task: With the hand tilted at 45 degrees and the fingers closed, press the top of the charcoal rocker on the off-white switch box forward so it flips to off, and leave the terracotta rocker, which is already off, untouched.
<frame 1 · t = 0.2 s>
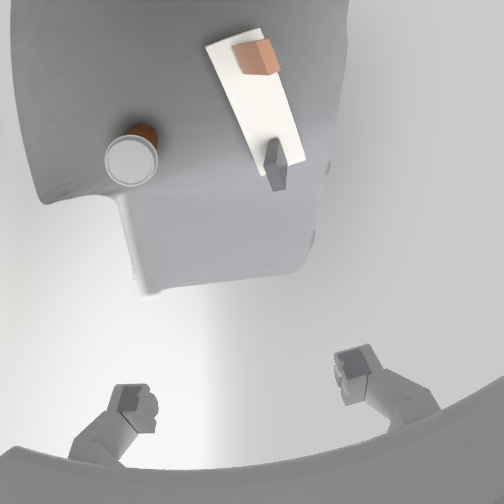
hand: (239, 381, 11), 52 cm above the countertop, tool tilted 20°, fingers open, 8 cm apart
switch box: (253, 96, 51), on the countertop
disposable coffee cup: (141, 138, 53), on the countertop
rocker charcoal: (276, 162, 48), point 13 cm above the countertop, hinge at -18.0°
rocker terracotta: (253, 57, 35), point 13 cm above the countertop, hinge at 18.0°
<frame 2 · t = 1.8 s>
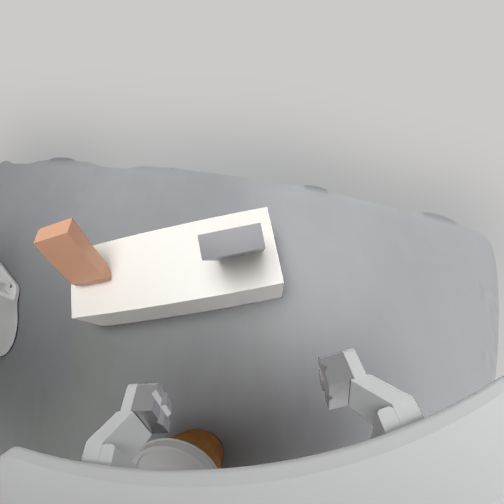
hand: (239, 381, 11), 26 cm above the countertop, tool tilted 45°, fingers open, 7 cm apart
switch box: (181, 282, 40), on the countertop
disposable coffee cup: (200, 449, 32), on the countertop
rocker charcoal: (235, 244, 28), point 13 cm above the countertop, hinge at -18.0°
rocker terracotta: (74, 257, 28), point 13 cm above the countertop, hinge at 18.0°
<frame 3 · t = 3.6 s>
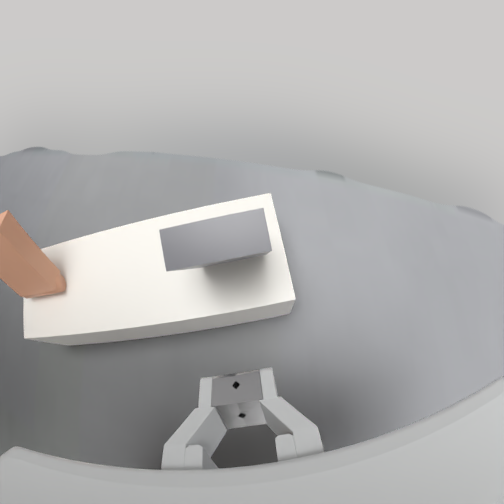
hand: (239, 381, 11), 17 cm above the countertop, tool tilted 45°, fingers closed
switch box: (159, 294, 30), on the countertop
rocker charcoal: (224, 245, 18), point 13 cm above the countertop, hinge at -18.0°
rocker terracotta: (17, 262, 19), point 13 cm above the countertop, hinge at 18.0°
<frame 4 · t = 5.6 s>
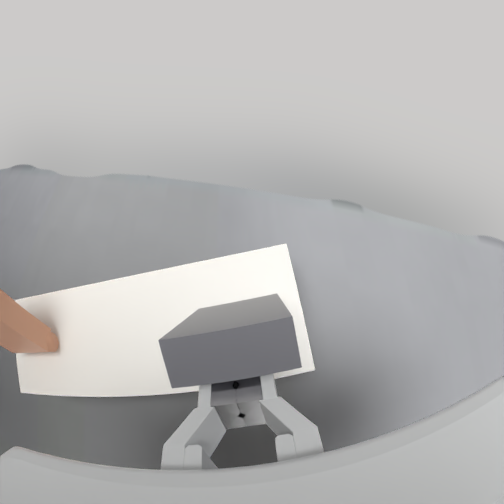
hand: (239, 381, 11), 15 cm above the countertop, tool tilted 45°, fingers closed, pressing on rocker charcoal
switch box: (161, 341, 27), on the countertop
rocker charcoal: (237, 328, 15), point 13 cm above the countertop, hinge at -17.3°, touching gripper
rocker terracotta: (3, 323, 16), point 13 cm above the countertop, hinge at 18.0°
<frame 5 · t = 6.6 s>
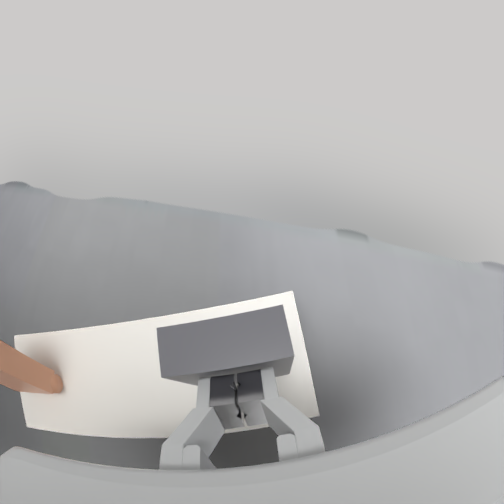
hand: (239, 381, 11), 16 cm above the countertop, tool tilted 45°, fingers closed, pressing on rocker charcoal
switch box: (164, 375, 26), on the countertop
rocker charcoal: (238, 359, 15), point 13 cm above the countertop, hinge at 9.7°, touching gripper
rocker terracotta: (6, 368, 15), point 13 cm above the countertop, hinge at 18.0°
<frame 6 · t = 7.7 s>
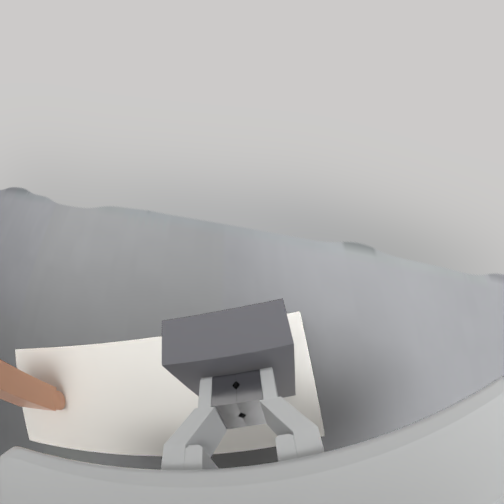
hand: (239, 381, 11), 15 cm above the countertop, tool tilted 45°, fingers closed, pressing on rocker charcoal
switch box: (168, 390, 26), on the countertop
rocker charcoal: (242, 371, 14), point 13 cm above the countertop, hinge at 22.6°, touching gripper
rocker terracotta: (8, 385, 14), point 13 cm above the countertop, hinge at 18.0°
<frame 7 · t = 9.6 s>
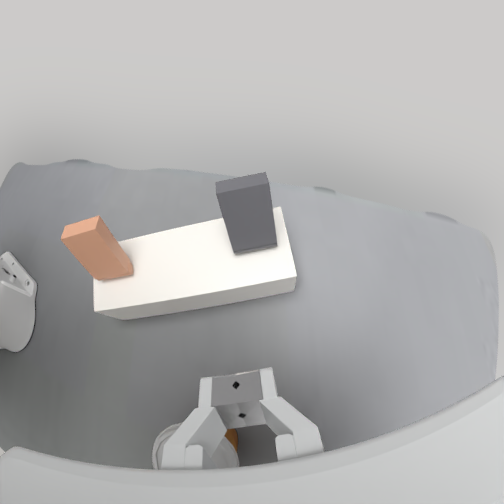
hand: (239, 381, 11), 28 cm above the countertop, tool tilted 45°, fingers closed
switch box: (198, 278, 43), on the countertop
disposable coffee cup: (215, 437, 35), on the countertop
rocker charcoal: (249, 218, 31), point 13 cm above the countertop, hinge at 22.7°
rocker terracotta: (99, 253, 32), point 13 cm above the countertop, hinge at 18.0°
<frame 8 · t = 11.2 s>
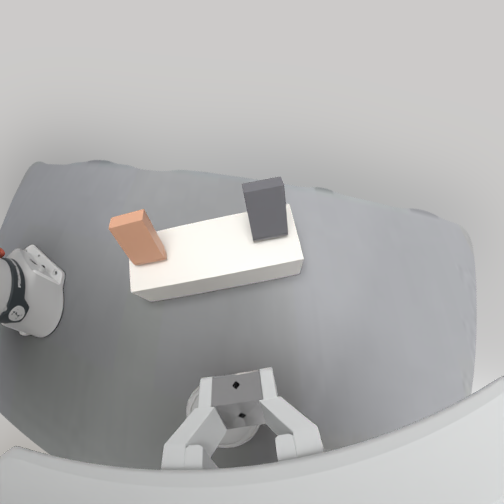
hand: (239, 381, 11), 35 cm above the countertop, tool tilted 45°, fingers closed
switch box: (218, 264, 51), on the countertop
disposable coffee cup: (234, 401, 43), on the countertop
rocker charcoal: (266, 212, 39), point 13 cm above the countertop, hinge at 22.7°
rocker terracotta: (139, 241, 39), point 13 cm above the countertop, hinge at 18.0°
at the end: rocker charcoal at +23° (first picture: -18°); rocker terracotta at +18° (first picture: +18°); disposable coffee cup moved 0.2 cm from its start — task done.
